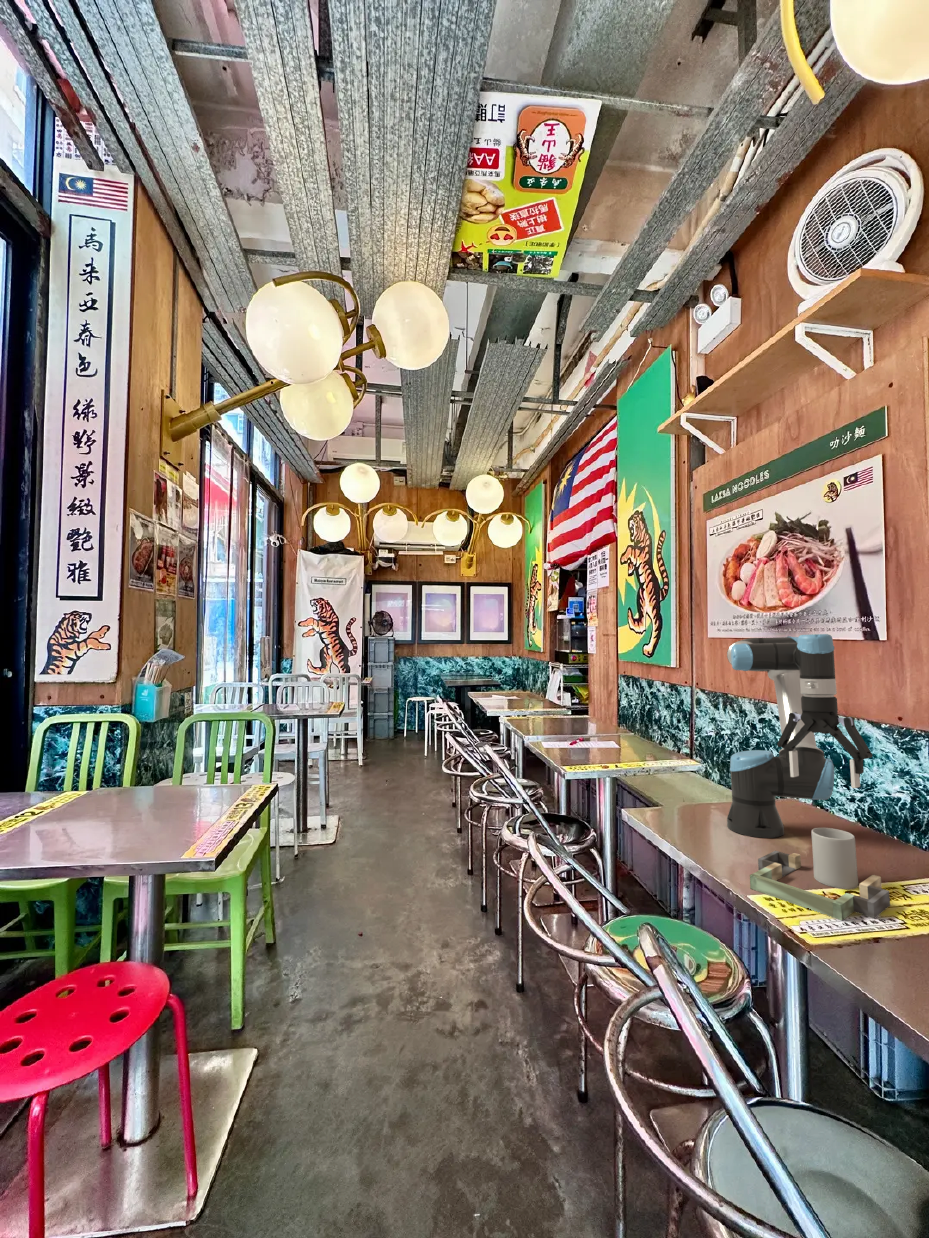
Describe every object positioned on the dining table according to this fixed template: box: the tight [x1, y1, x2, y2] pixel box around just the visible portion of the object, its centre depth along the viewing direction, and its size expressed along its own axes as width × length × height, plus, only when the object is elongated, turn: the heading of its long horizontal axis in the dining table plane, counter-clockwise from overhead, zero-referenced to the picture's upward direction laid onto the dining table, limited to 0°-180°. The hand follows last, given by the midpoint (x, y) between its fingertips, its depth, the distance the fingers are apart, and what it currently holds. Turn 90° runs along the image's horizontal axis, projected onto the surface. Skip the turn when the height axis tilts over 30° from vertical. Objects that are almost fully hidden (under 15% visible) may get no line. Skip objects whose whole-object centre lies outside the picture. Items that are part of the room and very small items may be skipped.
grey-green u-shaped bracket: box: [749, 850, 891, 921], centre depth 118 cm, size 22×25×3 cm
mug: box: [811, 827, 859, 890], centre depth 124 cm, size 12×8×11 cm
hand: (824, 781), depth 129 cm, fingers open, 13 cm apart
